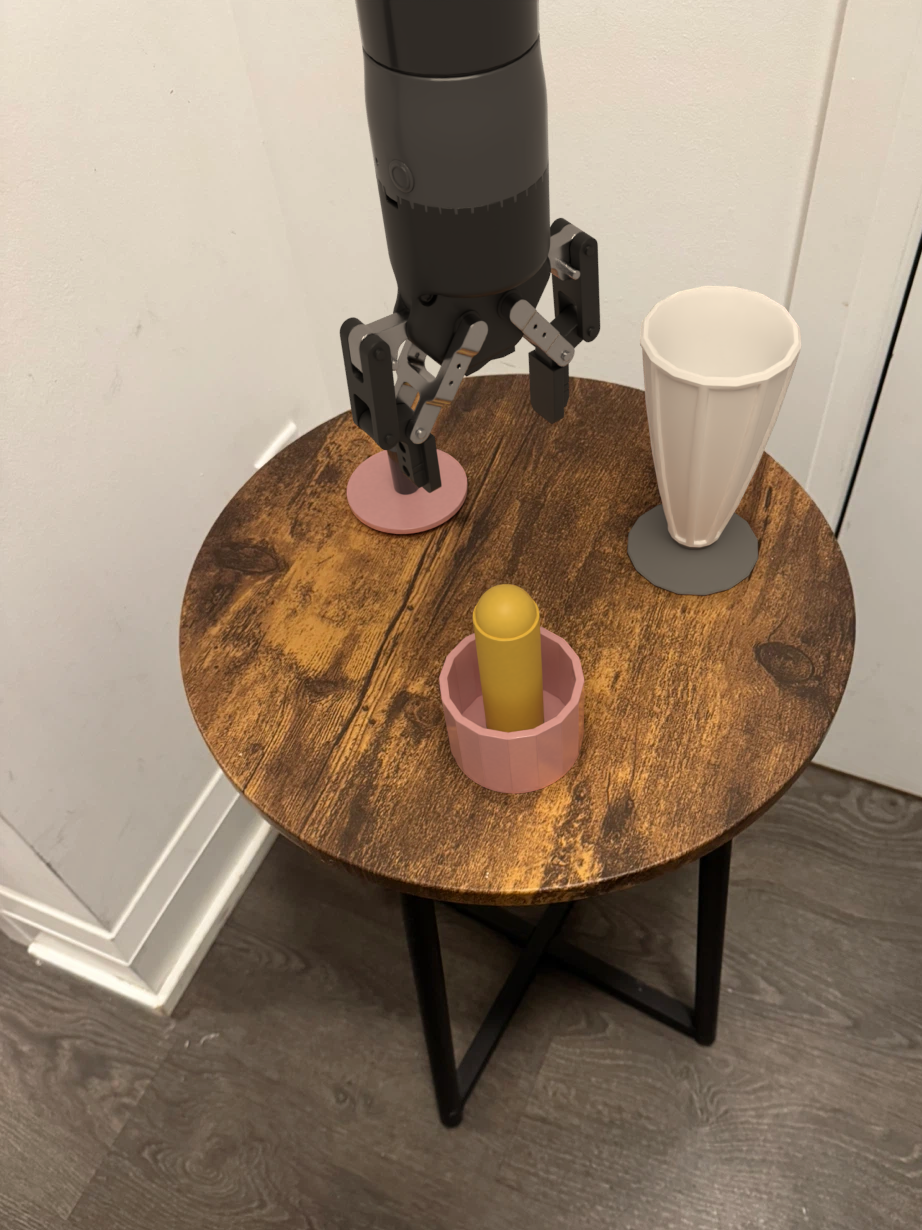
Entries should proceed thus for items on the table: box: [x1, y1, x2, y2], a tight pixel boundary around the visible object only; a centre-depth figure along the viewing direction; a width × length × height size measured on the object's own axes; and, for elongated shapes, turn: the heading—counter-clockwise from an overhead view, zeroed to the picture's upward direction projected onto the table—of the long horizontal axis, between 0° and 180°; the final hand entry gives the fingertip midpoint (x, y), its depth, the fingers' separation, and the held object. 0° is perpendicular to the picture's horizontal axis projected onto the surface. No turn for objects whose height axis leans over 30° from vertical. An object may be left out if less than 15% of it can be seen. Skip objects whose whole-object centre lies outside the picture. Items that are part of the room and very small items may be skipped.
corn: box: [472, 583, 544, 733], centre depth 73 cm, size 4×4×16 cm
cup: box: [626, 285, 802, 596], centre depth 82 cm, size 12×12×22 cm
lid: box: [346, 446, 469, 535], centre depth 93 cm, size 11×11×6 cm
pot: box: [438, 626, 585, 794], centre depth 77 cm, size 10×10×8 cm
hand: (487, 448), depth 58 cm, fingers open, 8 cm apart
